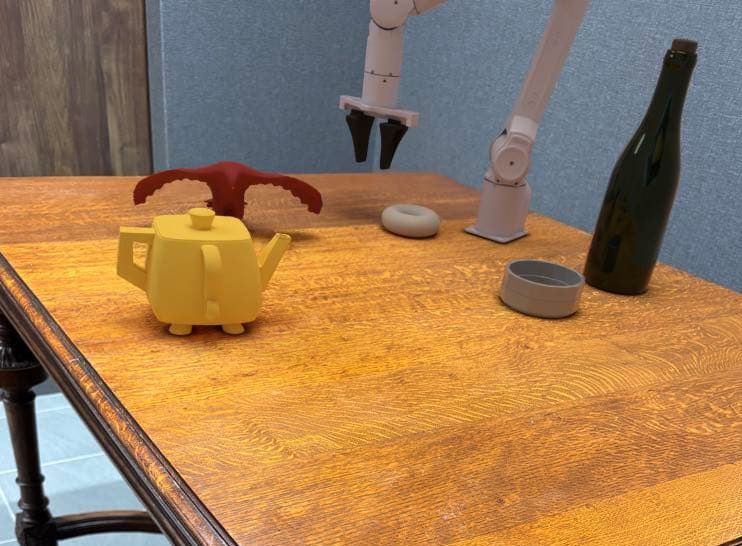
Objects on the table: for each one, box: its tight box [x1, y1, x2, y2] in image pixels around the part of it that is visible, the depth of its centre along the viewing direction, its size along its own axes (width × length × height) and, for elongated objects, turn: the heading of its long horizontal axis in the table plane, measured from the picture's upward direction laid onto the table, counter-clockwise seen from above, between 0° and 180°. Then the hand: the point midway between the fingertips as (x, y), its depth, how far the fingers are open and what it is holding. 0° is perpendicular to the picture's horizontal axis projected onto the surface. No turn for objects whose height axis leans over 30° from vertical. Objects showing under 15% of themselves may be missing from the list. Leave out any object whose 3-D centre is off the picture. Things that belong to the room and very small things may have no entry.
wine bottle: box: [581, 37, 699, 295], centre depth 117 cm, size 10×10×33 cm
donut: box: [381, 203, 441, 238], centre depth 136 cm, size 10×4×10 cm
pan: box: [498, 258, 586, 319], centre depth 114 cm, size 11×11×4 cm
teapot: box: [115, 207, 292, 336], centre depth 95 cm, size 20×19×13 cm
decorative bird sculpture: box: [132, 160, 324, 221], centre depth 124 cm, size 28×9×15 cm
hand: (372, 165), depth 136 cm, fingers open, 4 cm apart
